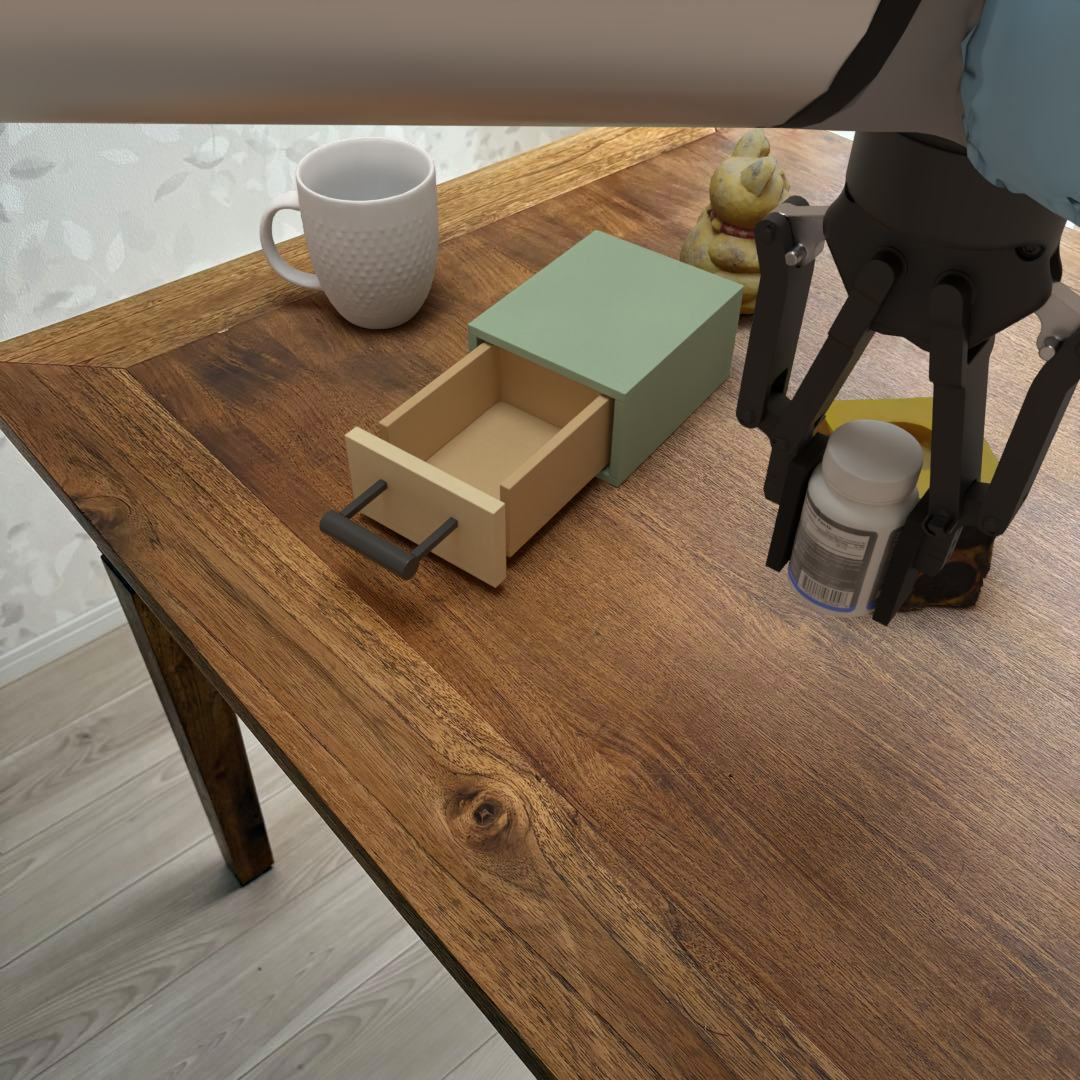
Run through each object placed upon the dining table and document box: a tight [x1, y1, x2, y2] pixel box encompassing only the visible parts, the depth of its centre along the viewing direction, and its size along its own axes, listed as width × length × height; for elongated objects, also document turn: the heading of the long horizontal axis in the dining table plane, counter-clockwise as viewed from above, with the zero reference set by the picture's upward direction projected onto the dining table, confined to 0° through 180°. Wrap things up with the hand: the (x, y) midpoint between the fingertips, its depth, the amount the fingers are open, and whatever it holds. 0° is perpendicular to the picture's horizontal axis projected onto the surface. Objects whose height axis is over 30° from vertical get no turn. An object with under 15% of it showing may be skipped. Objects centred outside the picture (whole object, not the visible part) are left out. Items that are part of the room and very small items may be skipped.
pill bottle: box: [786, 420, 924, 619], centre depth 49 cm, size 5×5×8 cm
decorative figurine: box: [679, 128, 791, 315], centre depth 93 cm, size 10×8×15 cm
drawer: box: [318, 341, 615, 588], centre depth 75 cm, size 21×12×7 cm, turn 144°
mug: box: [258, 135, 440, 330], centre depth 92 cm, size 15×11×13 cm
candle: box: [812, 396, 1000, 611], centre depth 73 cm, size 10×10×10 cm
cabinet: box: [467, 229, 744, 488], centre depth 85 cm, size 17×14×9 cm
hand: (837, 577), depth 52 cm, fingers closed on pill bottle, 5 cm apart
